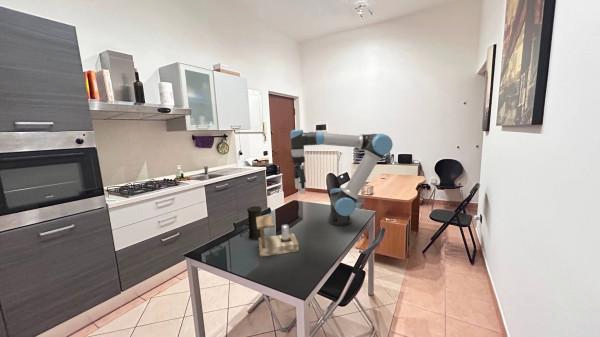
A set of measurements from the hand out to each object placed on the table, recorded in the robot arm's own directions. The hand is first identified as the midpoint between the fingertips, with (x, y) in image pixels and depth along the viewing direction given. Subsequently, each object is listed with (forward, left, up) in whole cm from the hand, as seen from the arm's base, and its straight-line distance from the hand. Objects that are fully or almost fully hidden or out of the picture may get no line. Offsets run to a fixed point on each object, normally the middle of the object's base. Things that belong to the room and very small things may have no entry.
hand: (300, 191), depth 148 cm
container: (+28, -2, -27) cm, 39 cm away
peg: (+12, +16, -26) cm, 33 cm away
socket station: (+17, +16, -26) cm, 35 cm away
